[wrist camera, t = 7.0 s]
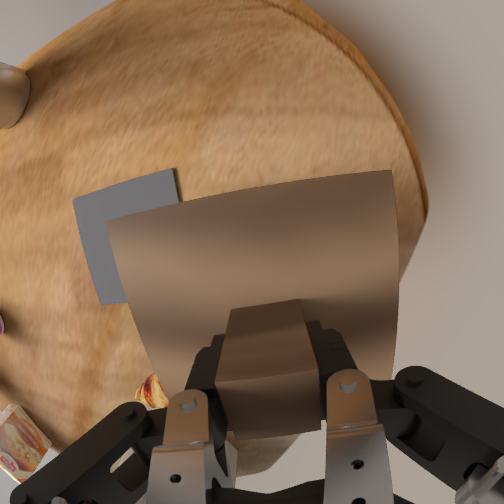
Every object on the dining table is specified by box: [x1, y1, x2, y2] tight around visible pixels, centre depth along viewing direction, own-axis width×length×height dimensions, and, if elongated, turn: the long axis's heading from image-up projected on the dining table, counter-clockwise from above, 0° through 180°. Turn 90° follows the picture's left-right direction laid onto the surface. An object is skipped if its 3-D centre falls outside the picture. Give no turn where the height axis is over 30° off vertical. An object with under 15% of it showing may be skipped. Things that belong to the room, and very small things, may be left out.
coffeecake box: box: [0, 403, 52, 484], centre depth 34 cm, size 15×7×20 cm, turn 20°
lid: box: [106, 170, 399, 440], centre depth 10 cm, size 13×13×6 cm
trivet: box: [73, 168, 180, 305], centre depth 29 cm, size 14×14×1 cm
